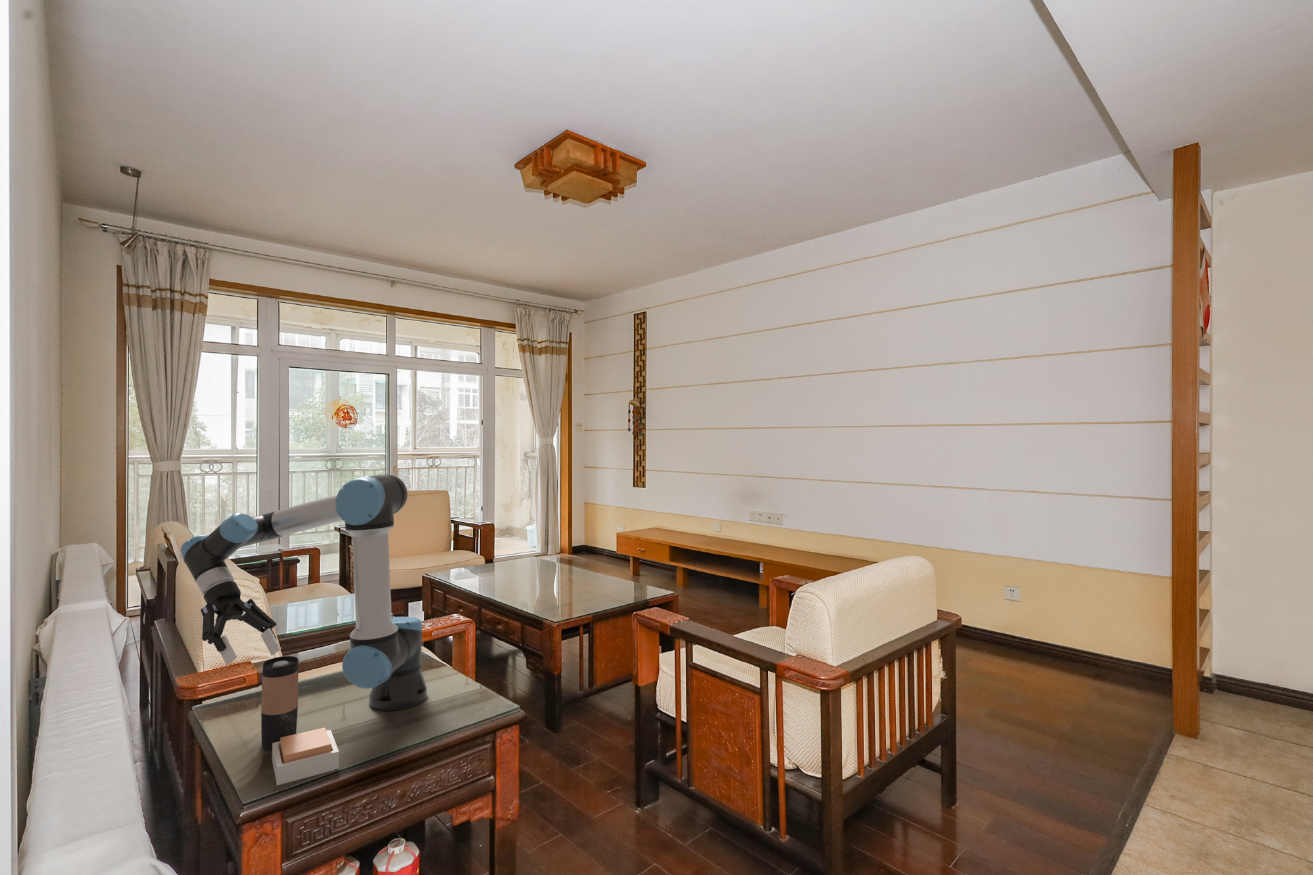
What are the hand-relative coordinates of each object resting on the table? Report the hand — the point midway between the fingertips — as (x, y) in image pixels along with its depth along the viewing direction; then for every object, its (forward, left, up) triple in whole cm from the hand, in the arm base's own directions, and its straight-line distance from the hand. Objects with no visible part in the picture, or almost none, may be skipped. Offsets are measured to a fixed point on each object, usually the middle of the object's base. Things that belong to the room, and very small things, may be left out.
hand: (255, 656), depth 157 cm
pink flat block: (-9, +25, -16) cm, 31 cm away
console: (-9, +25, -19) cm, 32 cm away
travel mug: (-5, +11, -19) cm, 22 cm away
